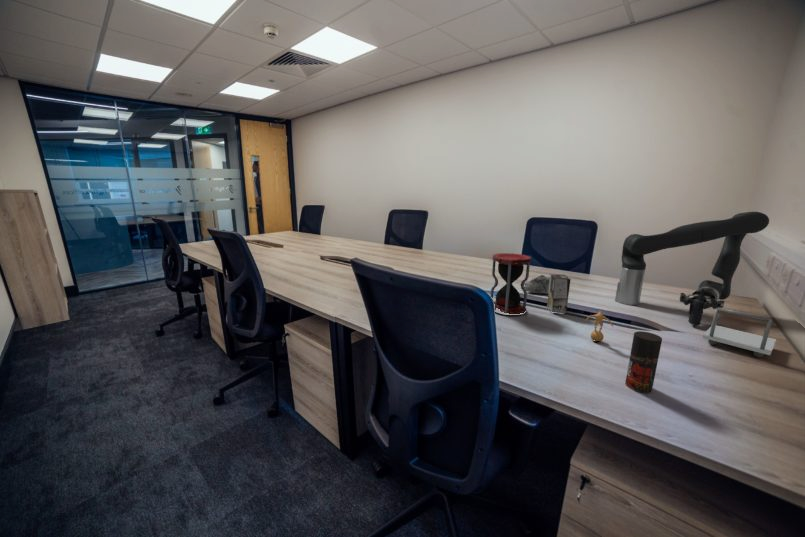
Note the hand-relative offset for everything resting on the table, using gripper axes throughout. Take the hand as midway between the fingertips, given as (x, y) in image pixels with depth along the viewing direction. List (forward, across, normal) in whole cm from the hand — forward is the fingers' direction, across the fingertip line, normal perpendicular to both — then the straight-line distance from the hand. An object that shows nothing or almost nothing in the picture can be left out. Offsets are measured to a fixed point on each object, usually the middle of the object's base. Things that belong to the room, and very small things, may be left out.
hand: (695, 304), depth 126 cm
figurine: (+44, -17, +10) cm, 48 cm away
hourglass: (+41, -56, +10) cm, 70 cm away
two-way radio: (-3, 0, +9) cm, 9 cm away
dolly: (+8, +14, +10) cm, 19 cm away
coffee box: (+24, -42, +10) cm, 49 cm away
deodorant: (+64, +2, +10) cm, 65 cm away
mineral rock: (+5, -62, +11) cm, 63 cm away
